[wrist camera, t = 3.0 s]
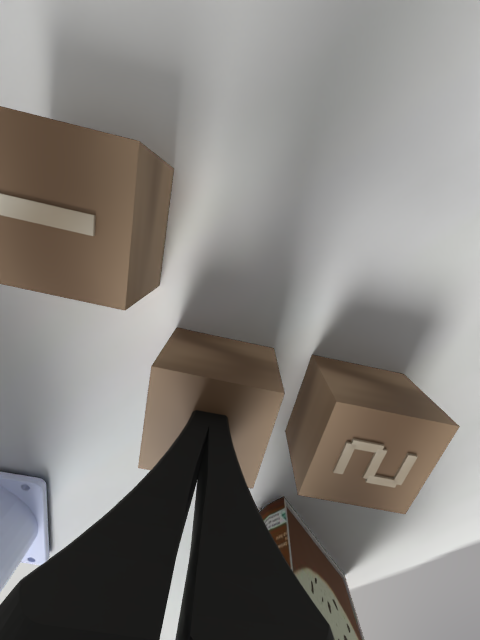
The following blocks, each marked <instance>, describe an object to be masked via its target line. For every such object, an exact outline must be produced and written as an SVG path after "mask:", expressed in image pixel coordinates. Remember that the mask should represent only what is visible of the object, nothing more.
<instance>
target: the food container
mask: <svg viewBox="0 0 480 640" xmlns="http://www.w3.org/2000/svg"><path fill="white" fill-rule="evenodd" d="M259 513H260V515H261V517H262V519H263V521H264V523H265V525H266V527H267V528H268V530H269V532H270V534H271V535H272V537H273V539H274V541H275V542H276V544H277V546H278V548H279V549H280V551H281V553H282V555H283V556H284V558H285V560H286V561H287V563H288V565H289V566H290V568H291V569H292V571H293V572H294V574H295V575H296V577H297V579H298V580H299V582H300V583H301V585H302V586H303V588H304V589H305V591H306V592H307V594H308V595H309V596H310V598H311V599H312V601H313V602H314V604H315V605H316V607H317V608H318V609H319V611H320V612H321V614H322V615H323V616H324V618H325V619H326V620H327V622H328V623H329V625H330V627H331V630H332V633H333V636H334V639H335V640H364V637H363V634H362V631H361V627H360V624H359V621H358V618H357V614H356V612H355V608H354V605H353V601H352V598H351V595H350V591H349V588H348V585H347V582H346V578H345V576H344V574H343V573H342V572H341V570H340V569H339V568H338V566H337V565H336V564H335V563H334V561H333V560H332V559H331V557H330V556H329V555H328V553H327V552H326V551H325V550H324V548H323V547H322V546H321V544H320V543H319V542H318V540H317V539H316V538H315V537H314V535H313V534H312V533H311V531H310V530H309V529H308V527H307V526H306V525H305V523H304V522H303V521H302V520H301V518H300V517H299V516H298V514H297V513H296V512H295V510H294V509H293V508H292V507H291V505H290V504H289V503H288V501H287V500H286V499H285V497H282V498H280V499H278V500H276V501H274V502H272V503H270V504H268V505H267V506H266V507H265V508H264V509H263V510H262V511H260V512H259Z"/></svg>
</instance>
